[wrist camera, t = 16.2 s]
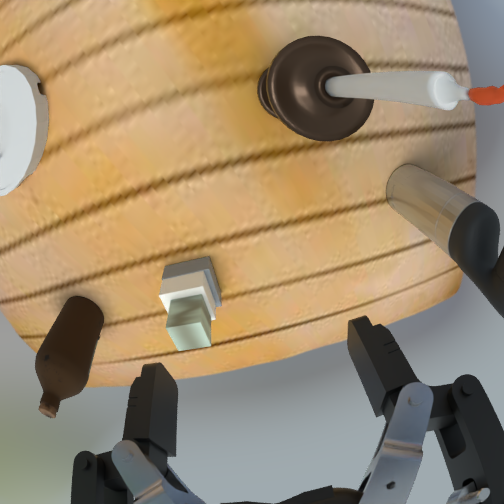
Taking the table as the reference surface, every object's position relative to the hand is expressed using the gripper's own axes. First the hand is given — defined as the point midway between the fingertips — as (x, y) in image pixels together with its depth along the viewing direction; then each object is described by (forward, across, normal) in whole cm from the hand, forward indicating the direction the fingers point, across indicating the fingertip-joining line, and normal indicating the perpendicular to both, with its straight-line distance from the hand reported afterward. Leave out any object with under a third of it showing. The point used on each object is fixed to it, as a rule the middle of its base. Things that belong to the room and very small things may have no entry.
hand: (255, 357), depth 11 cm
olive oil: (+33, +37, +20) cm, 54 cm away
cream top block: (+29, +11, +18) cm, 36 cm away
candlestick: (+33, -11, -9) cm, 36 cm away
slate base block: (+33, +11, +18) cm, 39 cm away
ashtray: (+34, +36, -21) cm, 54 cm away
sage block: (+25, +11, +18) cm, 33 cm away
